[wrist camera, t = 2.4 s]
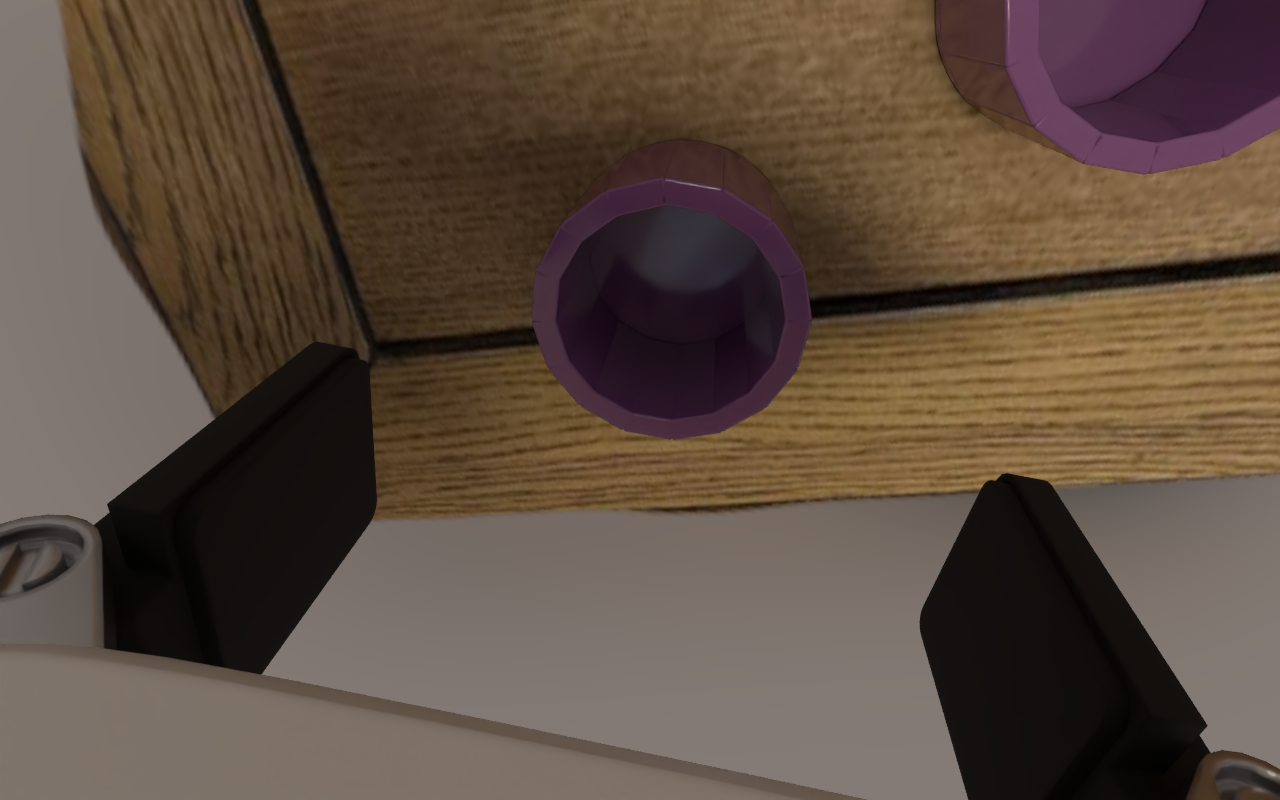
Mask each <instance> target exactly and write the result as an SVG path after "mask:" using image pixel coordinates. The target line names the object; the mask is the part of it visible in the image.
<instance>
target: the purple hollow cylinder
mask: <svg viewBox="0 0 1280 800" xmlns="http://www.w3.org/2000/svg"><path fill="white" fill-rule="evenodd" d="M935 25H936V34H937V42H938V46H939V50H940V54H941V58H942V61H943V64H944V66H945V68H946V71H947V73H948V75H949V77H950V79H951V80H952V82H953V84H954V85H955V87H956V89H957V90H958V91H959V92H960V94H961V95H962V96H963V97H964V98H965V100H966V101H967V102H968V103H969V104H971V105H972V106H973V107H974V108H975V109H976V110H978V111H979V112H980V113H982V114H984V115H985V116H987V117H988V118H990V119H992V120H994V121H995V122H996V123H998V124H999V125H1000V126H1002V127H1003V128H1006V129H1008V130H1010V131H1012V132H1014V133H1017V134H1019V135H1021V136H1023V137H1025V138H1028V139H1030V140H1032V141H1034V142H1036V143H1039V144H1041V145H1043V146H1045V147H1047V148H1050V149H1052V150H1054V151H1056V152H1058V153H1061V154H1063V155H1065V156H1067V157H1069V158H1072V159H1074V160H1076V161H1078V162H1081V163H1083V164H1086V165H1092V166H1098V167H1104V168H1109V169H1115V170H1121V171H1127V172H1133V173H1138V174H1153V173H1158V172H1163V171H1168V170H1172V169H1177V168H1182V167H1187V166H1192V165H1197V164H1202V163H1207V162H1212V161H1216V160H1219V159H1221V158H1224V157H1227V156H1229V155H1231V154H1233V153H1235V152H1237V151H1238V150H1240V149H1242V148H1244V147H1246V146H1248V145H1249V144H1251V143H1253V142H1255V141H1257V140H1259V139H1260V138H1262V137H1264V136H1266V135H1268V134H1270V133H1271V132H1273V131H1275V130H1277V129H1279V128H1280V0H936V16H935Z"/></svg>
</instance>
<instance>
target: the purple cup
mask: <svg viewBox="0 0 1280 800" xmlns="http://www.w3.org/2000/svg"><path fill="white" fill-rule="evenodd" d="M536 270H537V271H536V272H535V280H534V294H533V307H532V321H533V322H532V324H533V327H534V330H535V333H536V336H537V339H538V342H539V345H540V348H541V350H542V353H543V356H544V359H545V362H546V365H547V367H548V368H549V370H550V372H551V373H552V374H553V375H554V376H555V378H556V379H557V380H558V381H559V382H560V383H561V385H562V386H563V387H564V388H565V389H566V390H567V392H568V393H569V394H570V395H571V396H572V397H573V399H574V400H575V401H576V402H577V403H578V404H579V405H581V406H582V407H583V408H584V409H586V410H588V411H590V412H591V413H593V414H595V415H597V416H598V417H600V418H602V419H604V420H605V421H607V422H609V423H611V424H612V425H614V426H616V427H618V428H620V429H622V430H623V429H624V431H627V432H633V433H638V434H644V435H649V436H655V437H660V438H665V439H673V440H676V439H682V438H689V437H696V436H702V435H709V434H715V433H720V432H721V431H725V430H726V429H728V428H730V427H732V426H734V425H736V424H738V423H739V422H741V421H743V420H745V419H747V418H749V417H750V416H752V415H754V414H756V413H758V412H760V411H761V410H763V409H764V408H766V407H767V406H768V405H769V404H770V403H771V401H772V400H773V399H774V398H775V397H776V395H777V394H778V393H779V392H780V391H781V389H782V388H783V387H784V386H785V385H786V383H787V382H788V381H789V380H790V379H791V377H792V376H793V375H794V374H795V373H796V371H797V368H798V367H799V364H800V360H801V357H802V354H803V350H804V347H805V344H806V340H807V337H808V333H809V330H810V327H811V319H812V314H811V307H810V300H809V293H808V286H807V279H806V272H805V267H804V264H803V260H802V257H801V253H800V250H799V246H798V243H797V239H796V236H795V232H794V229H793V225H792V222H791V218H790V216H789V213H788V211H787V209H786V208H785V206H784V204H783V202H782V200H781V198H780V197H779V195H778V193H777V191H776V190H775V188H774V187H773V186H772V184H771V183H770V182H769V180H768V179H767V178H766V177H765V176H764V175H763V174H762V173H761V172H760V171H759V170H758V169H757V168H756V167H755V166H754V165H752V164H751V163H750V162H749V161H747V160H746V159H745V158H743V157H741V156H739V155H738V154H736V153H734V152H732V151H730V150H728V149H725V148H723V147H720V146H718V145H714V144H710V143H706V142H702V141H693V140H670V141H664V142H658V143H654V144H651V145H648V146H645V147H641V148H639V149H637V150H635V151H633V152H631V153H629V154H627V155H625V156H624V157H622V158H621V159H619V160H618V161H616V162H615V163H614V164H612V165H611V166H610V167H609V168H608V169H607V170H606V171H605V172H603V174H601V175H600V176H599V177H597V178H596V179H595V180H594V182H593V183H592V184H591V185H590V187H589V188H588V189H587V190H586V192H585V193H584V194H583V196H582V197H581V198H580V200H579V201H578V202H577V204H576V205H575V206H574V208H573V209H572V210H571V211H570V213H569V214H568V215H567V217H566V218H565V219H564V221H563V222H562V223H561V225H560V226H559V227H558V229H557V231H556V233H555V235H554V237H553V239H552V240H551V242H550V244H549V246H548V248H547V250H546V251H545V253H544V255H543V257H542V259H541V261H540V262H539V264H538V266H537V269H536Z"/></svg>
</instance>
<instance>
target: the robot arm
mask: <svg viewBox="0 0 1280 800" xmlns="http://www.w3.org/2000/svg"><path fill="white" fill-rule="evenodd" d="M376 504H377V494H376V477H375V459H374V442H373V425H372V408H371V391H370V373H369V366H368V364H367V362H366V361H365V360H360V359H359V356H358V354H357V351H355V350H354V349H352V348H347V347H342V346H336V345H331V344H326V343H321V342H314V343H312V344H310V345H309V346H307V347H306V348H305V349H304V350H302V351H301V352H300V353H298V354H297V355H296V356H295V357H293V358H292V359H291V360H290V361H288V362H287V363H286V364H284V365H283V366H282V367H281V368H279V369H278V370H277V371H276V372H274V373H273V374H272V375H271V376H269V377H268V378H267V379H265V380H264V381H263V382H262V383H260V384H259V385H258V386H257V387H255V388H254V389H253V390H251V391H250V392H249V393H248V394H246V395H245V396H244V397H243V398H241V399H240V400H239V401H237V402H236V403H235V404H234V405H232V406H231V407H230V408H229V409H227V410H226V411H225V412H224V413H222V414H221V415H220V416H218V417H217V418H216V419H215V420H213V421H212V422H211V423H210V424H208V425H207V426H206V427H205V428H203V429H202V430H201V431H200V432H198V433H197V434H196V435H194V436H193V437H192V438H190V439H189V440H188V441H187V442H185V443H184V444H183V445H182V446H180V447H179V448H178V449H177V450H175V451H174V452H173V453H171V454H170V455H169V456H168V457H166V458H165V459H164V460H163V461H161V462H160V463H159V464H158V465H156V466H155V467H154V468H152V469H151V470H150V471H149V472H147V473H146V474H145V475H143V476H142V477H141V478H140V479H138V480H137V481H136V482H135V483H133V484H132V485H131V486H130V487H128V488H127V489H126V490H125V491H123V492H122V493H121V494H120V495H118V496H117V497H116V498H115V499H113V500H112V501H110V502H109V503H108V504H107V505H108V508H109V511H110V513H109V514H107V515H106V516H105V517H104V518H102V519H101V520H100V521H98V522H97V523H96V524H95V525H92V524H91V523H89V522H88V521H87V520H84V519H80V518H77V517H73V516H69V515H41V516H33V517H26V518H20V519H17V520H13V521H9V522H6V523H2V524H0V800H866V799H861V798H856V797H852V796H847V795H842V794H838V793H833V792H828V791H824V790H819V789H814V788H809V787H805V786H800V785H796V784H790V783H786V782H781V781H777V780H772V779H768V778H763V777H758V776H754V775H749V774H744V773H739V772H735V771H730V770H725V769H720V768H716V767H711V766H706V765H701V764H696V763H692V762H687V761H682V760H677V759H672V758H668V757H663V756H658V755H653V754H649V753H644V752H639V751H634V750H630V749H625V748H620V747H615V746H610V745H606V744H601V743H596V742H591V741H586V740H581V739H577V738H571V737H567V736H562V735H557V734H553V733H547V732H542V731H538V730H533V729H528V728H524V727H519V726H514V725H509V724H505V723H500V722H495V721H490V720H485V719H480V718H475V717H470V716H465V715H460V714H455V713H451V712H445V711H441V710H436V709H431V708H426V707H421V706H416V705H411V704H406V703H401V702H396V701H391V700H386V699H381V698H376V697H371V696H367V695H362V694H357V693H352V692H347V691H342V690H337V689H332V688H327V687H322V686H317V685H312V684H307V683H302V682H298V681H292V680H287V679H281V678H276V677H270V676H265V675H261V674H262V673H263V672H264V670H265V669H266V667H267V666H268V665H269V663H270V662H271V660H272V659H273V658H274V656H275V655H276V653H277V652H278V651H279V649H280V648H281V646H282V645H283V644H284V642H285V641H286V639H287V638H288V636H289V635H290V634H291V632H292V631H293V630H294V628H295V627H296V625H297V624H298V623H299V621H300V620H301V619H302V617H303V616H304V614H305V613H306V612H307V610H308V609H309V607H310V606H311V604H312V603H313V602H314V600H315V599H316V598H317V596H318V595H319V593H320V592H321V591H322V589H323V588H324V586H325V585H326V584H327V582H328V581H329V579H330V578H331V576H332V575H333V574H334V572H335V571H336V570H337V568H338V567H339V565H340V564H341V563H342V561H343V560H344V558H345V557H346V556H347V554H348V553H349V551H350V550H351V549H352V547H353V546H354V545H355V543H356V542H357V540H358V539H359V538H360V536H361V535H362V533H363V532H364V531H365V529H366V528H367V526H368V525H369V523H370V522H371V520H372V518H373V516H374V513H375V509H376ZM920 632H921V636H922V640H923V643H924V647H925V650H926V654H927V657H928V660H929V664H930V668H931V671H932V675H933V678H934V681H935V685H936V689H937V692H938V695H939V699H940V702H941V706H942V709H943V713H944V716H945V720H946V723H947V727H948V730H949V734H950V737H951V741H952V744H953V747H954V751H955V755H956V758H957V762H958V765H959V769H960V772H961V776H962V779H963V783H964V786H965V790H966V793H967V797H968V800H1280V769H1278V768H1277V767H1275V766H1273V765H1271V764H1269V763H1267V762H1266V761H1263V760H1260V759H1257V758H1255V757H1252V756H1249V755H1247V754H1244V753H1238V752H1232V751H1224V750H1221V751H1217V752H1213V753H1210V751H1209V750H1208V748H1207V747H1206V745H1205V744H1204V742H1203V740H1202V739H1201V737H1200V734H1201V733H1202V731H1203V730H1204V729H1205V728H1206V727H1207V724H1206V722H1205V721H1204V719H1203V718H1202V716H1201V715H1200V713H1199V712H1198V710H1197V708H1196V707H1195V706H1194V704H1193V702H1192V701H1191V699H1190V698H1189V696H1188V695H1187V693H1186V692H1185V690H1184V688H1183V687H1182V685H1181V684H1180V682H1179V681H1178V679H1177V678H1176V676H1175V675H1174V673H1173V672H1172V670H1171V668H1170V667H1169V665H1168V664H1167V662H1166V661H1165V659H1164V658H1163V656H1162V655H1161V653H1160V651H1159V650H1158V648H1157V647H1156V645H1155V644H1154V642H1153V641H1152V639H1151V638H1150V636H1149V634H1148V633H1147V631H1146V630H1145V628H1144V627H1143V626H1142V624H1141V622H1140V621H1139V619H1138V618H1137V616H1136V614H1135V613H1134V612H1133V610H1132V608H1131V607H1130V605H1129V604H1128V602H1127V601H1126V599H1125V597H1124V596H1123V594H1122V593H1121V591H1120V590H1119V588H1118V587H1117V585H1116V584H1115V582H1114V581H1113V579H1112V577H1111V576H1110V575H1109V573H1108V572H1107V570H1106V568H1105V567H1104V565H1103V564H1102V562H1101V560H1100V559H1099V557H1098V556H1097V554H1096V553H1095V551H1094V550H1093V548H1092V547H1091V545H1090V544H1089V542H1088V541H1087V539H1086V537H1085V536H1084V534H1083V533H1082V531H1081V530H1080V528H1079V527H1078V525H1077V523H1076V522H1075V520H1074V519H1073V517H1072V516H1071V514H1070V513H1069V511H1068V510H1067V508H1066V507H1065V505H1064V503H1063V502H1062V501H1061V499H1060V497H1059V496H1058V494H1057V493H1056V491H1055V490H1054V488H1053V486H1052V485H1051V484H1050V483H1049V482H1047V481H1044V480H1040V479H1034V478H1029V477H1024V476H1019V475H1013V474H1008V473H1006V474H1002V475H1001V476H1000V477H999V478H998V479H997V480H996V481H993V480H990V481H987V482H986V483H985V484H984V485H983V487H982V488H981V490H980V492H979V494H978V497H977V499H976V501H975V503H974V505H973V507H972V509H971V511H970V513H969V515H968V517H967V519H966V521H965V523H964V525H963V527H962V529H961V531H960V533H959V535H958V537H957V539H956V541H955V543H954V545H953V547H952V549H951V551H950V553H949V556H948V557H947V559H946V561H945V563H944V565H943V567H942V569H941V572H940V574H939V575H938V578H937V580H936V582H935V584H934V586H933V588H932V590H931V592H930V594H929V596H928V598H927V600H926V602H925V604H924V606H923V608H922V611H921V615H920Z"/></svg>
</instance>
